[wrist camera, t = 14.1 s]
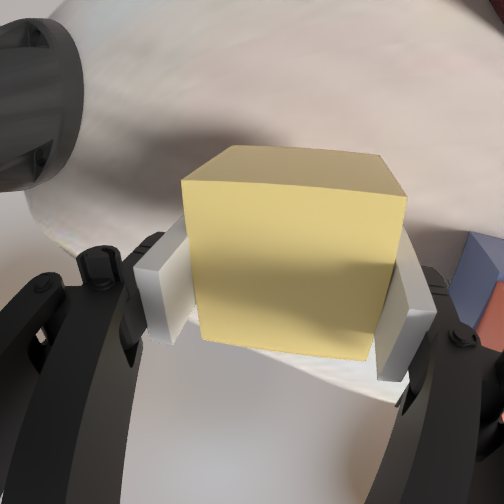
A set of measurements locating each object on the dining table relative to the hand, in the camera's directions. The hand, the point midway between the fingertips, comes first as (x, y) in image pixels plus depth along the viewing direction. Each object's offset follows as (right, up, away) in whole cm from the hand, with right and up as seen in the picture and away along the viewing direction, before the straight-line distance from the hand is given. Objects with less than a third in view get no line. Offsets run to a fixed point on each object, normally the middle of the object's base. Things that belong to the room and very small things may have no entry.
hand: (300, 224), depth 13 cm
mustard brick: (0, 0, 0) cm, 1 cm away
